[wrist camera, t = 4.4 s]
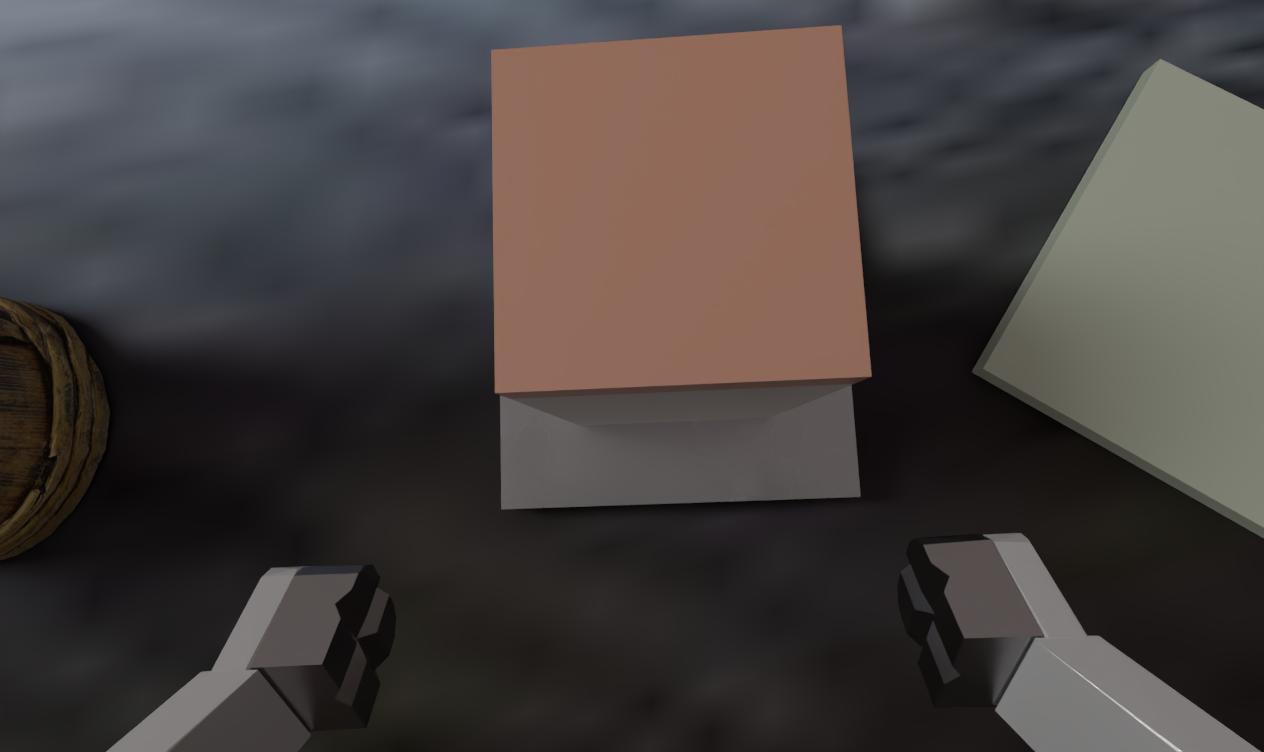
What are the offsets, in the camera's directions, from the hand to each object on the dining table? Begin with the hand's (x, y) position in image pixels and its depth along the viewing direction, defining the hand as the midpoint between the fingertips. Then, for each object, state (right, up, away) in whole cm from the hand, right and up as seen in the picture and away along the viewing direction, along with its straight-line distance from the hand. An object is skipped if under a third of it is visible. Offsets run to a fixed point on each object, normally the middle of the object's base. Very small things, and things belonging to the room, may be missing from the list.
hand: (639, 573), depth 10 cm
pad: (+19, +5, +11) cm, 23 cm away
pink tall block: (+1, +5, +11) cm, 12 cm away
